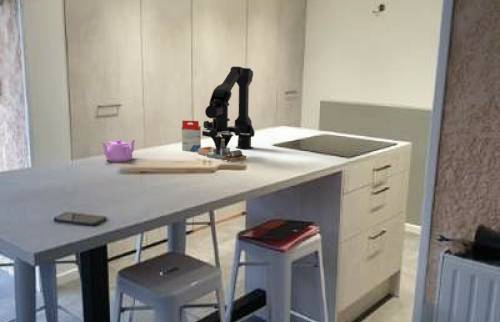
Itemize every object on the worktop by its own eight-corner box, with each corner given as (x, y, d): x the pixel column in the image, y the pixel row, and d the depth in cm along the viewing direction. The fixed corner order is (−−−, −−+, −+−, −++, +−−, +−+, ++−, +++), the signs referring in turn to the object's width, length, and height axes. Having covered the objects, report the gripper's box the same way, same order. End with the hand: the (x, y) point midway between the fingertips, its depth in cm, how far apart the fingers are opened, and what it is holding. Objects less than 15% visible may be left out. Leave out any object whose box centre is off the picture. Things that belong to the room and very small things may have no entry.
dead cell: (226, 153, 244) (226, 137, 242) (220, 154, 241) (221, 137, 240) (221, 152, 246) (221, 136, 245) (215, 153, 244) (215, 136, 242)
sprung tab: (228, 153, 244) (228, 147, 244) (229, 154, 243) (230, 147, 243) (220, 155, 241) (220, 148, 240) (222, 155, 240) (222, 149, 239)
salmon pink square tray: (209, 152, 254) (209, 146, 254) (219, 154, 250) (219, 148, 249) (198, 154, 249) (198, 148, 249) (208, 156, 245) (208, 150, 244)
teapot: (100, 162, 226) (100, 141, 224) (110, 156, 240) (110, 136, 238) (128, 163, 226) (128, 142, 224) (136, 157, 239) (136, 137, 238)
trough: (236, 157, 244) (237, 153, 244) (246, 159, 240) (246, 155, 240) (222, 160, 237) (222, 156, 237) (231, 162, 233) (231, 158, 233)
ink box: (200, 149, 261) (201, 119, 258) (199, 151, 256) (199, 121, 253) (183, 148, 262) (183, 119, 259) (181, 150, 257) (181, 120, 254)
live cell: (236, 157, 242) (236, 149, 241) (242, 158, 240) (242, 150, 239) (225, 159, 237) (225, 151, 236) (231, 160, 234) (231, 152, 234)
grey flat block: (222, 154, 250) (222, 146, 250) (236, 157, 244) (236, 149, 244) (206, 156, 243) (207, 149, 242) (220, 159, 237) (220, 151, 236)
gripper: (223, 113, 252) (223, 145, 256) (194, 115, 239) (193, 150, 242) (240, 115, 245) (239, 148, 248) (211, 118, 232) (210, 153, 235)
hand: (221, 150), depth 244 cm, fingers closed on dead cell, 4 cm apart
